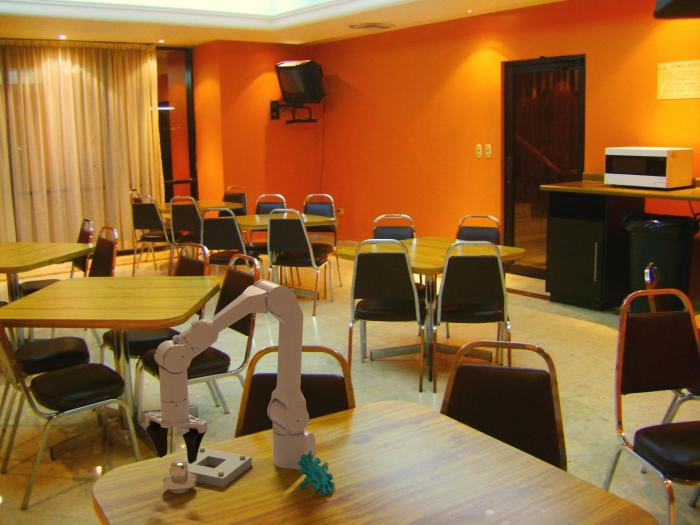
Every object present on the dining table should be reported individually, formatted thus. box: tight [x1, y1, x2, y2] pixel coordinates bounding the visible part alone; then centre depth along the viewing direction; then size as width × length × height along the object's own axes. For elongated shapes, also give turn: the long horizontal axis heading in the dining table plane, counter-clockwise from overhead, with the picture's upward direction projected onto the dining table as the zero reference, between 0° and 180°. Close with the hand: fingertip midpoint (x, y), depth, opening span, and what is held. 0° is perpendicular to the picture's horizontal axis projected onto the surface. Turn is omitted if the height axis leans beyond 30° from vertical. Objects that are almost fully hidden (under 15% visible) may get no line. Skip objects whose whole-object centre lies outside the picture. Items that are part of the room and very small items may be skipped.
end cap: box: [162, 459, 198, 495], centre depth 163 cm, size 7×7×6 cm
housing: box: [169, 446, 253, 488], centre depth 172 cm, size 14×12×4 cm
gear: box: [298, 454, 336, 496], centre depth 165 cm, size 11×6×10 cm
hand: (177, 458), depth 162 cm, fingers open, 7 cm apart
